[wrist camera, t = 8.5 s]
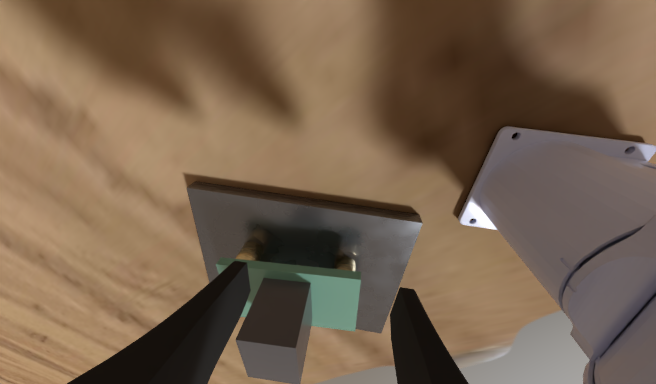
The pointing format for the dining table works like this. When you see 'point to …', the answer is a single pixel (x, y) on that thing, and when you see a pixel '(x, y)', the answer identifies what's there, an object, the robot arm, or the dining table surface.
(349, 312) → the board
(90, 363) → the dining table surface
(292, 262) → the plate
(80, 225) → the dining table surface
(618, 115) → the dining table surface
